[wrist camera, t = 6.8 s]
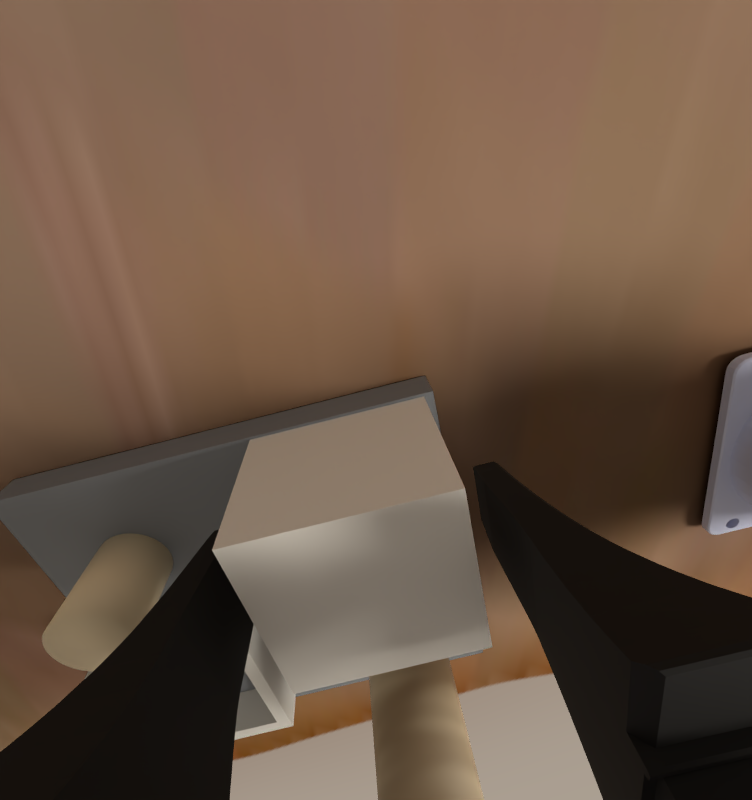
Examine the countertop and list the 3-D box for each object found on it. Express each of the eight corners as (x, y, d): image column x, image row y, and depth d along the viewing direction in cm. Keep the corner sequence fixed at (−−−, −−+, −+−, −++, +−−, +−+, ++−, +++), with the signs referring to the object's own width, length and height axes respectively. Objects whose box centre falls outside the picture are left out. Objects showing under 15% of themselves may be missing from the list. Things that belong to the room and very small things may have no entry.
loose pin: (432, 591, 16) (480, 786, 11) (444, 639, 18) (492, 833, 12) (357, 609, 16) (369, 812, 11) (375, 655, 18) (393, 856, 12)
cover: (423, 396, 13) (465, 488, 9) (450, 528, 15) (492, 647, 11) (249, 439, 13) (211, 550, 9) (304, 564, 15) (293, 694, 11)
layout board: (424, 375, 14) (460, 444, 10) (474, 626, 19) (508, 731, 16) (13, 479, 14) (-106, 585, 10) (183, 696, 20) (147, 815, 16)
